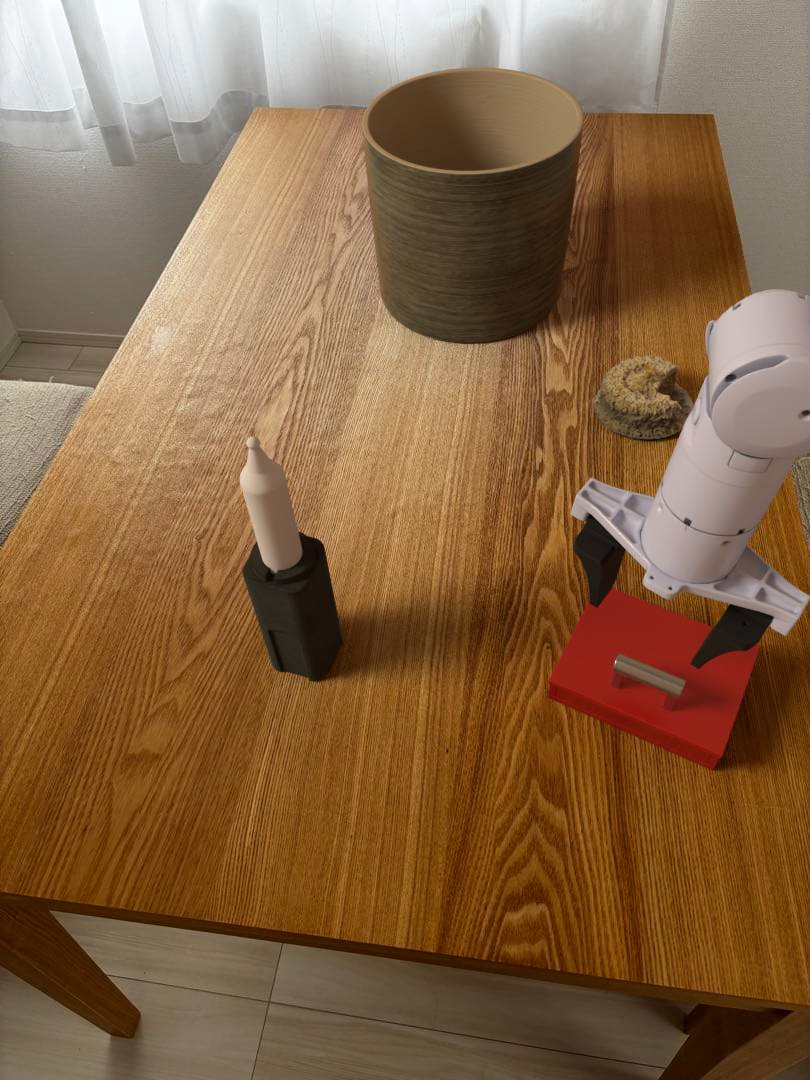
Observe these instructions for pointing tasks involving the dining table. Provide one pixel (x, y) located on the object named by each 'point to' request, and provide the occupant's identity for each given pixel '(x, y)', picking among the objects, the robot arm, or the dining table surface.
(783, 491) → the dining table surface
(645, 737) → the red box base
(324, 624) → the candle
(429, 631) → the dining table surface
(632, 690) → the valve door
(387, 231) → the planter
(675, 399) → the cake
